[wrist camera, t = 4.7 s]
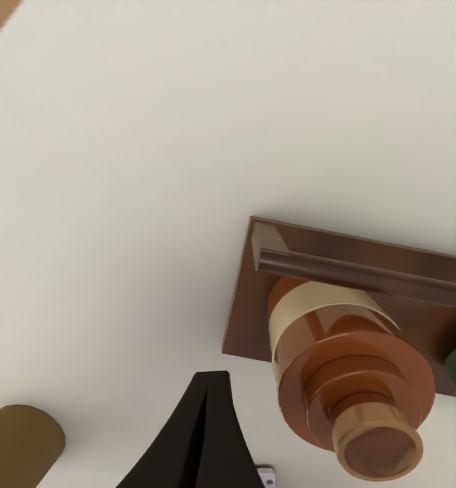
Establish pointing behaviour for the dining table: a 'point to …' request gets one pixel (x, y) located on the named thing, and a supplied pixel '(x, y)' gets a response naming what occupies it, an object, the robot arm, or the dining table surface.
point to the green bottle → (451, 366)
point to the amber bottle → (348, 377)
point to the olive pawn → (27, 446)
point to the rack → (349, 276)
